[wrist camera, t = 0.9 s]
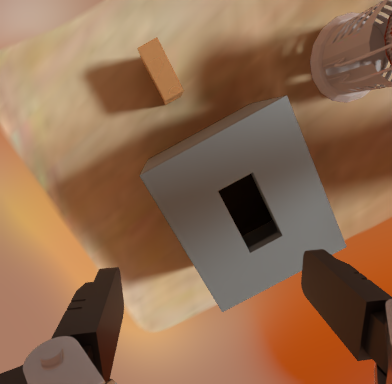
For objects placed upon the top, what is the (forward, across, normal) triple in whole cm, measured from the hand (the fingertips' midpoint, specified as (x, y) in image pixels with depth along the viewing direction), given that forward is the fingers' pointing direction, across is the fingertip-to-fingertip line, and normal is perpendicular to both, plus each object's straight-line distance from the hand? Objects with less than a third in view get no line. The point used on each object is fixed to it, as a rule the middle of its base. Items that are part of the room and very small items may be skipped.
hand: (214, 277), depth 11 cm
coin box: (+22, -6, +2) cm, 23 cm away
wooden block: (+22, +2, -11) cm, 25 cm away
